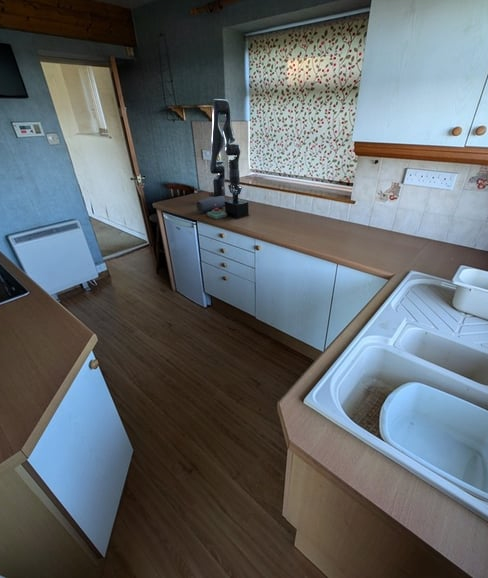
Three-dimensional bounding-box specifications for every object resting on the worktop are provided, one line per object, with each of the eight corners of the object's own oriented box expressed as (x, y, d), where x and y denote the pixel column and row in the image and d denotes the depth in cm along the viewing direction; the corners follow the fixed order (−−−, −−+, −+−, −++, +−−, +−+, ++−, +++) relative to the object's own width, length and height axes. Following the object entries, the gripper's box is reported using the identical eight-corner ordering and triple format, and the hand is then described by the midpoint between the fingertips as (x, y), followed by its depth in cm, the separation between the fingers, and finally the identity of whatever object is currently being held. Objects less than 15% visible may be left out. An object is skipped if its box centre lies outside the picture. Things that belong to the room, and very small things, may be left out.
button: (213, 211, 216) (212, 208, 215) (217, 210, 218) (216, 207, 217) (215, 212, 213) (215, 209, 212) (219, 211, 215) (219, 208, 214)
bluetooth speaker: (203, 215, 219) (202, 201, 214) (196, 212, 225) (195, 199, 220) (227, 209, 232) (226, 196, 227) (220, 206, 238) (219, 194, 233)
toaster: (225, 214, 220) (224, 201, 214) (236, 211, 226) (236, 198, 221) (237, 219, 210) (236, 204, 205) (249, 215, 217) (248, 201, 212)
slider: (233, 199, 217) (232, 192, 215) (235, 198, 219) (235, 191, 216) (235, 199, 216) (234, 192, 213) (237, 199, 217) (237, 192, 215)
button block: (206, 215, 218) (206, 210, 216) (217, 212, 224) (217, 207, 222) (216, 219, 211) (215, 213, 209) (227, 216, 216) (226, 210, 214)
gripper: (244, 175, 206) (245, 200, 215) (232, 173, 215) (233, 197, 224) (236, 177, 202) (237, 202, 211) (224, 174, 211) (225, 198, 220)
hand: (235, 199), depth 217 cm, fingers closed on slider, 2 cm apart
